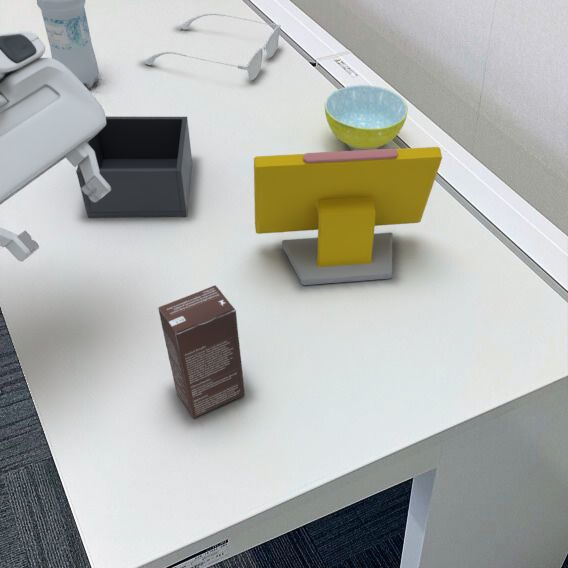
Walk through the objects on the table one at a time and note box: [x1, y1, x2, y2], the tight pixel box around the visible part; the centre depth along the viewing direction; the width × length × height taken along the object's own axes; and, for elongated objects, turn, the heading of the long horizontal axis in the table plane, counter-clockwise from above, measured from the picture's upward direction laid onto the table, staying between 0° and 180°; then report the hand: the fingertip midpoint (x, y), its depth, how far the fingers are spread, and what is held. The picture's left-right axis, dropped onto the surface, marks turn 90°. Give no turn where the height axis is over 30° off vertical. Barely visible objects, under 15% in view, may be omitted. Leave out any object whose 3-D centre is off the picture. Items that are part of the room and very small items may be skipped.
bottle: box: [36, 0, 99, 89], centre depth 110 cm, size 7×7×20 cm
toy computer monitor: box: [253, 146, 443, 286], centre depth 87 cm, size 20×8×16 cm, turn 100°
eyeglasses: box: [144, 13, 282, 81], centre depth 124 cm, size 15×18×4 cm
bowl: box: [324, 84, 409, 151], centre depth 108 cm, size 11×12×6 cm
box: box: [157, 285, 246, 419], centre depth 73 cm, size 6×4×12 cm
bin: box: [75, 115, 193, 218], centre depth 98 cm, size 12×12×7 cm
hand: (68, 224), depth 67 cm, fingers open, 8 cm apart
